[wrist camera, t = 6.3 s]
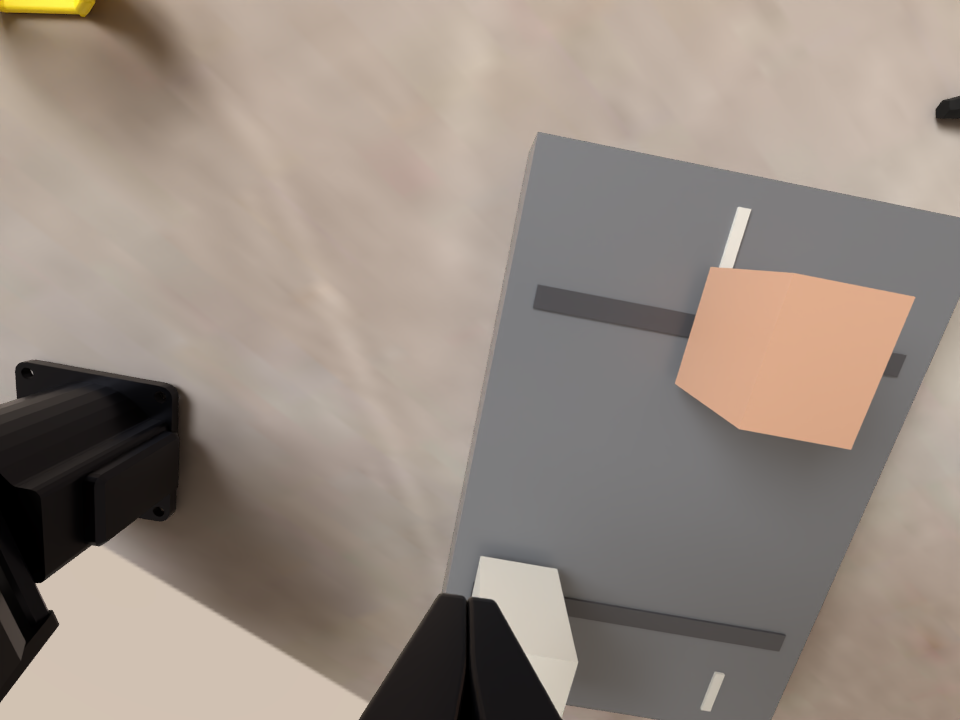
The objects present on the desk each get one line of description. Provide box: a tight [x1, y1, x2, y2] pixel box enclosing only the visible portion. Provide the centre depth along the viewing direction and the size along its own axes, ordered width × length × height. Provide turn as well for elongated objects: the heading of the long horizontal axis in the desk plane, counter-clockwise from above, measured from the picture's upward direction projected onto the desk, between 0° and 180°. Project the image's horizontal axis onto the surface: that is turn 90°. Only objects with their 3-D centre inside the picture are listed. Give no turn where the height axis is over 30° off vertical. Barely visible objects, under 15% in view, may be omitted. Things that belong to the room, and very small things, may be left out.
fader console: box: [442, 132, 960, 720], centre depth 18 cm, size 15×22×3 cm
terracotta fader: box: [675, 267, 915, 450], centre depth 13 cm, size 3×4×4 cm
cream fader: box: [472, 556, 578, 718], centre depth 16 cm, size 3×4×4 cm
